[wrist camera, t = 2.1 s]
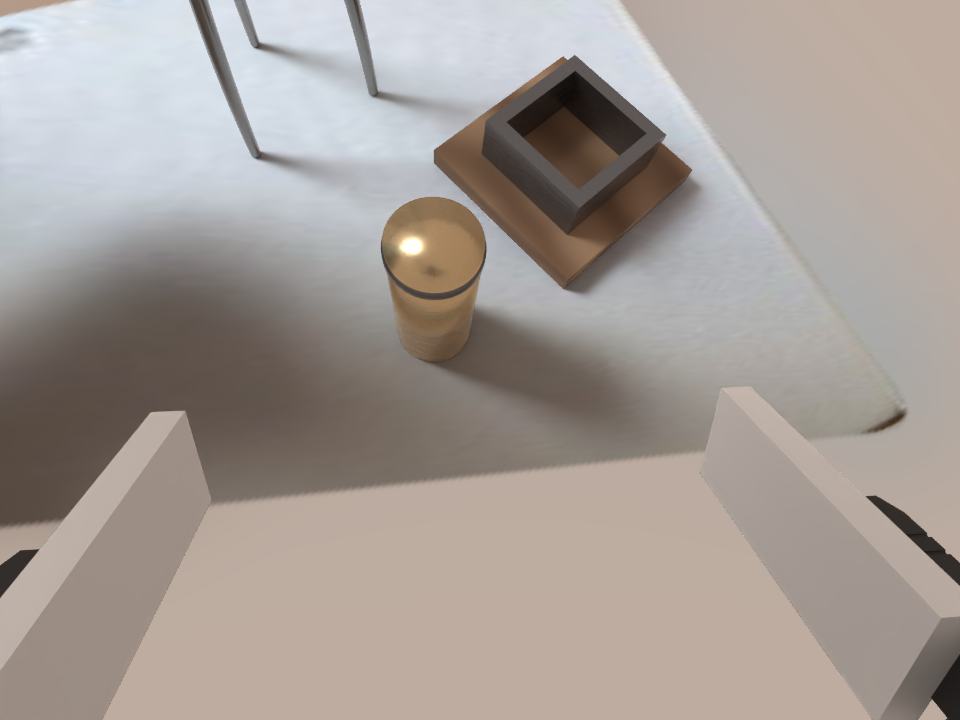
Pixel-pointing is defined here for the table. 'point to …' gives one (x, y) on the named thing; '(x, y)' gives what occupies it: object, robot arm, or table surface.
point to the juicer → (219, 58)
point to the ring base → (579, 163)
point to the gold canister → (433, 274)
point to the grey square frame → (597, 112)
